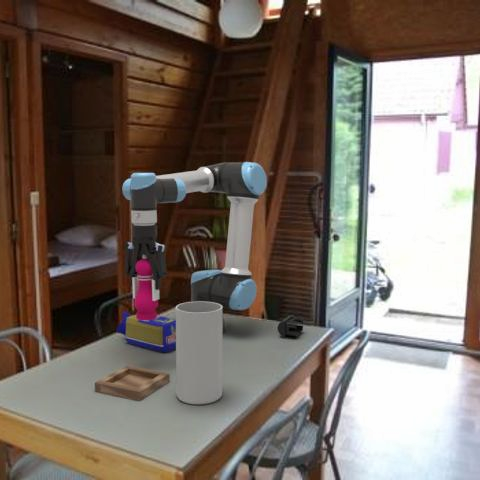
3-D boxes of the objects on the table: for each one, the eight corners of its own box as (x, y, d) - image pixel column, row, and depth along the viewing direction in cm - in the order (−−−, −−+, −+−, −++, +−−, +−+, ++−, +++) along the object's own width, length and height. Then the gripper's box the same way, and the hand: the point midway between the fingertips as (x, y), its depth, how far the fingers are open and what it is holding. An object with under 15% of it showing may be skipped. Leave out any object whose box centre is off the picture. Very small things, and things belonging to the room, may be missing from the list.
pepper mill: (149, 313, 174) (147, 251, 172) (163, 317, 169) (161, 253, 167) (130, 317, 169) (128, 253, 167) (143, 322, 164) (141, 256, 162)
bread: (164, 355, 183) (164, 325, 182) (114, 341, 198) (114, 313, 196) (185, 347, 191) (184, 318, 190) (135, 334, 206) (135, 307, 205)
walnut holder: (127, 373, 166) (127, 365, 166) (169, 381, 160) (169, 373, 160) (94, 391, 153) (94, 382, 152) (139, 401, 147) (139, 392, 146)
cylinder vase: (179, 386, 156) (179, 301, 153) (223, 387, 156) (223, 301, 153) (173, 405, 144) (172, 312, 141) (220, 406, 144) (220, 313, 141)
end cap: (285, 330, 212) (285, 313, 211) (303, 333, 209) (303, 315, 208) (277, 338, 203) (277, 320, 202) (295, 340, 200) (295, 322, 199)
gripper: (110, 223, 166) (112, 298, 169) (164, 226, 158) (166, 304, 161) (125, 221, 173) (127, 293, 176) (178, 224, 165) (179, 299, 168)
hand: (146, 298), depth 169 cm, fingers closed on pepper mill, 6 cm apart
